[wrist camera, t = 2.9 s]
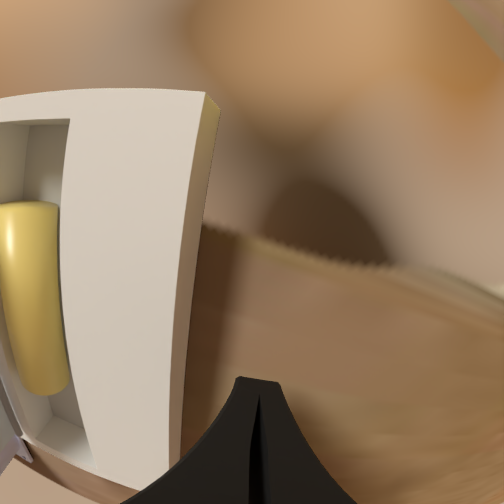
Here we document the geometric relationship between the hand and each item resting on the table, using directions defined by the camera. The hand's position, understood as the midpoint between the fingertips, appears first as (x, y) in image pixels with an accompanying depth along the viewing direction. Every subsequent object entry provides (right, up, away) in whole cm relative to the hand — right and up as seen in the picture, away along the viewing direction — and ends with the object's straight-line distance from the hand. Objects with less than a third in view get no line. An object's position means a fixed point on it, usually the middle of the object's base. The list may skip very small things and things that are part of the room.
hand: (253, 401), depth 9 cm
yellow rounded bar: (-10, +2, +2) cm, 11 cm away
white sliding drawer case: (-8, +2, +4) cm, 10 cm away
